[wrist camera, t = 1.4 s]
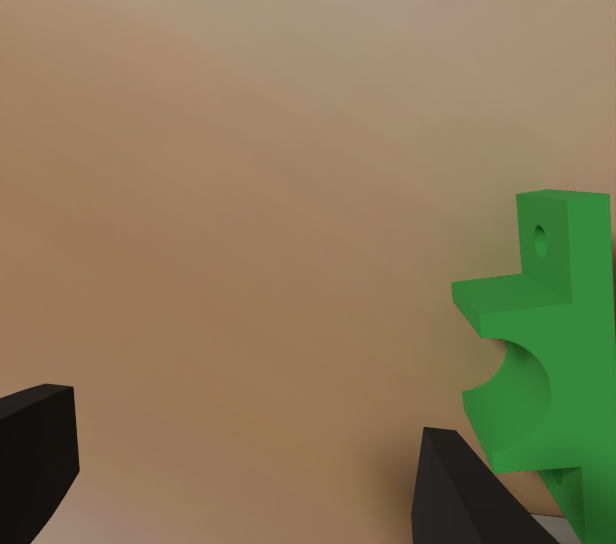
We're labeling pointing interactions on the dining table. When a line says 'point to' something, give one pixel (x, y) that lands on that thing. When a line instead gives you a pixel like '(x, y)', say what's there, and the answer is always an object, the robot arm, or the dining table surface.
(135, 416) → the dining table surface
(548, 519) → the brown wooden block
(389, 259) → the dining table surface
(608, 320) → the pipe clamp
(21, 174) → the dining table surface
